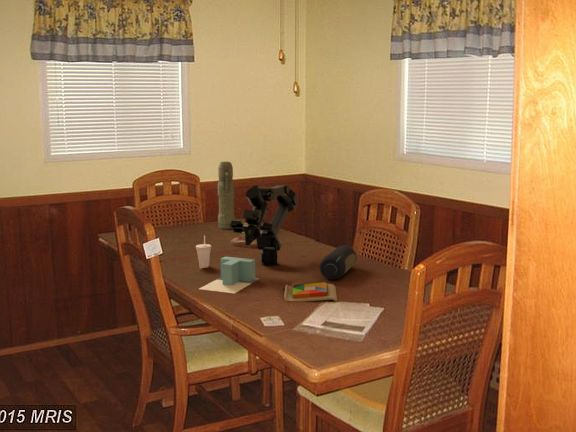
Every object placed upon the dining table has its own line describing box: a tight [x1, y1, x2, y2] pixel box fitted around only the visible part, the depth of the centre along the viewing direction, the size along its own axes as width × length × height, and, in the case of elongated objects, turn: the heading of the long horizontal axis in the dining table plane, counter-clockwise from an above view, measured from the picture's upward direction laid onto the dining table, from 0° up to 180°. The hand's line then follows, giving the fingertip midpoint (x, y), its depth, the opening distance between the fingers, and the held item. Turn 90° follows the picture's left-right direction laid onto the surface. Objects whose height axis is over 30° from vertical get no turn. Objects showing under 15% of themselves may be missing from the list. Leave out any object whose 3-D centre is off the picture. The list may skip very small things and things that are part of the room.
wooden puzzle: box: [283, 282, 338, 303], centre depth 263 cm, size 18×19×4 cm
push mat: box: [198, 276, 261, 294], centre depth 275 cm, size 22×15×1 cm
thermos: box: [217, 161, 236, 230], centre depth 381 cm, size 9×12×35 cm
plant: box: [230, 231, 258, 249], centre depth 347 cm, size 20×20×11 cm
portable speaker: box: [319, 244, 357, 280], centre depth 290 cm, size 25×10×10 cm, turn 160°
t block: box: [219, 256, 256, 286], centre depth 277 cm, size 11×13×8 cm
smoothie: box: [195, 235, 212, 270], centre depth 300 cm, size 6×6×14 cm
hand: (246, 245), depth 286 cm, fingers closed
